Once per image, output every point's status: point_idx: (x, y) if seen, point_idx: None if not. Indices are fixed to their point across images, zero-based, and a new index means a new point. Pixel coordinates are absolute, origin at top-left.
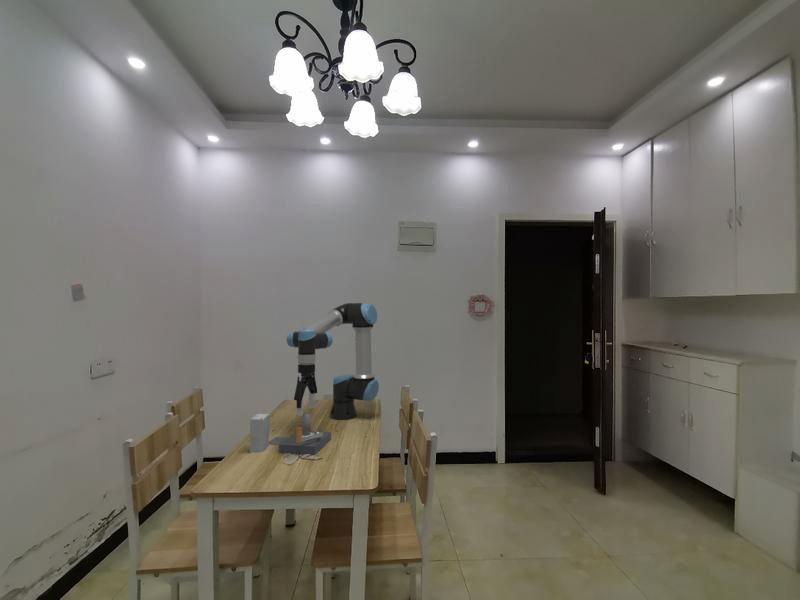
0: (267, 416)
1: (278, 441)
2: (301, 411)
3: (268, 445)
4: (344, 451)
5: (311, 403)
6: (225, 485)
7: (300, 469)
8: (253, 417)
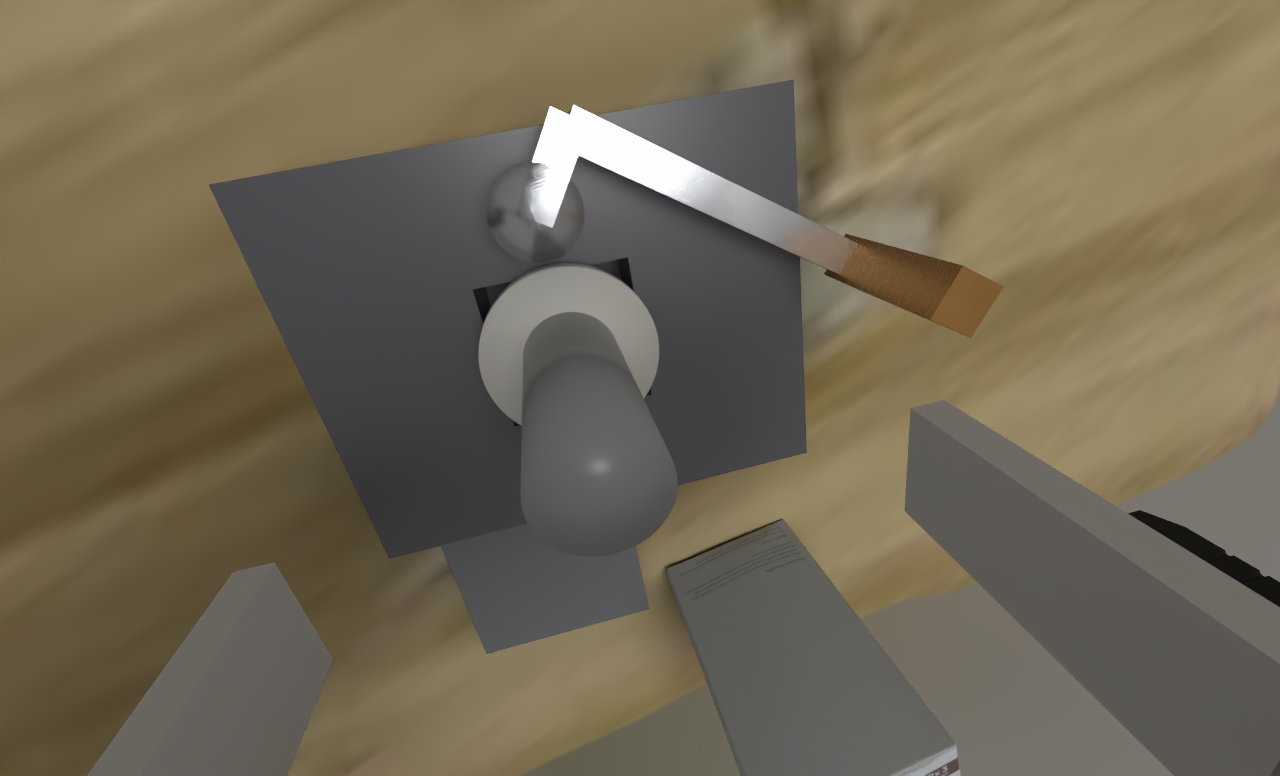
0: None
1: (569, 575)
2: (1008, 459)
3: (677, 570)
4: None
5: (255, 716)
6: (1226, 366)
7: (1034, 49)
8: None
